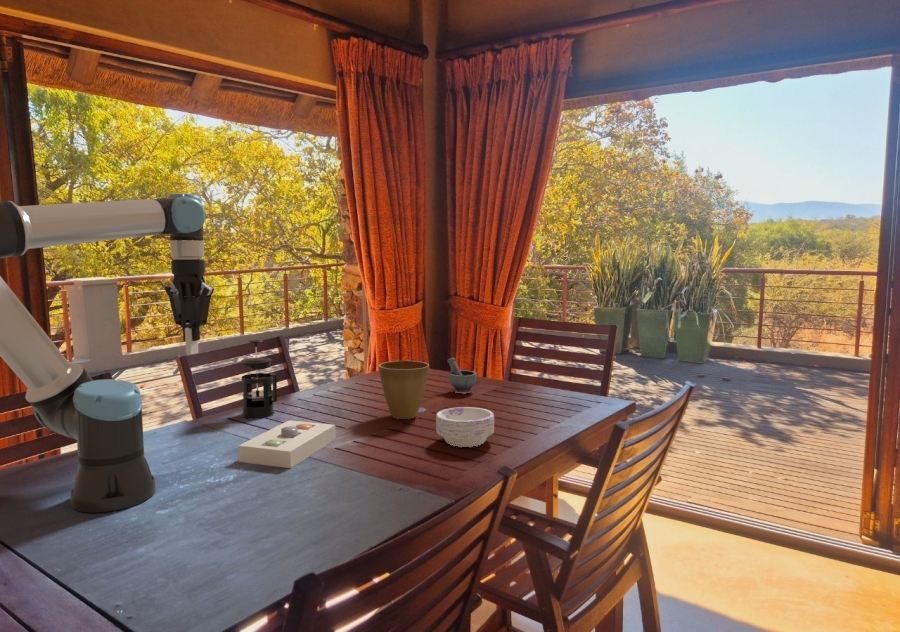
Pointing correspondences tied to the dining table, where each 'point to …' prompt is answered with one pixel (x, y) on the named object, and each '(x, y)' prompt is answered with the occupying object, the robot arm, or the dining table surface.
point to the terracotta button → (304, 426)
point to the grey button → (289, 432)
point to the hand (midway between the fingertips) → (192, 353)
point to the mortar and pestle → (461, 377)
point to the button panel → (287, 445)
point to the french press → (261, 406)
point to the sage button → (273, 443)
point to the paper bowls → (465, 425)
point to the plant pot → (404, 386)
